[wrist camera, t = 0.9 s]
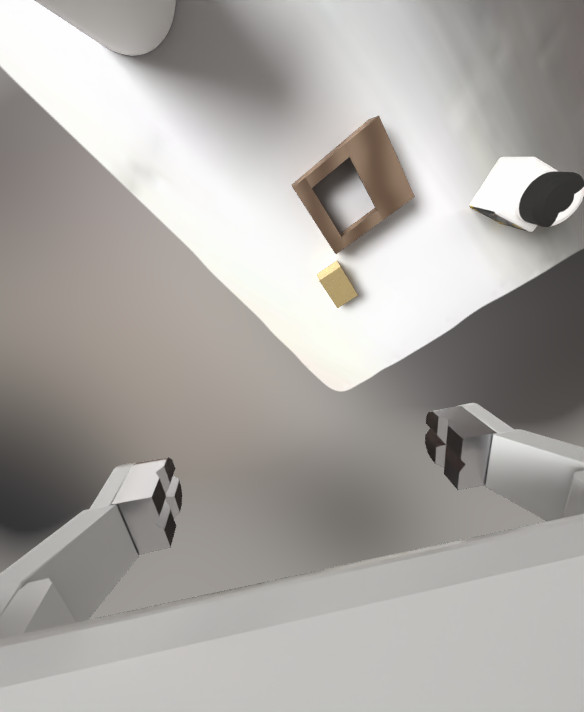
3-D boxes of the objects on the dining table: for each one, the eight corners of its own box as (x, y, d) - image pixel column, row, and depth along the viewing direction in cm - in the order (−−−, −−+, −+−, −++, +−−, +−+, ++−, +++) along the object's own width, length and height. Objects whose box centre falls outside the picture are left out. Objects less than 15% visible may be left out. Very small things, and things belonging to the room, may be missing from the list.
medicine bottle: (467, 206, 48) (519, 219, 38) (499, 155, 44) (566, 155, 34) (501, 224, 49) (559, 241, 39) (535, 176, 46) (608, 182, 36)
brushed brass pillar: (336, 260, 51) (340, 266, 48) (353, 287, 54) (357, 295, 51) (316, 273, 52) (319, 280, 49) (334, 300, 55) (337, 308, 52)
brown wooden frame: (368, 119, 41) (378, 115, 37) (402, 193, 46) (414, 196, 42) (291, 185, 45) (293, 187, 41) (330, 246, 50) (335, 254, 46)
